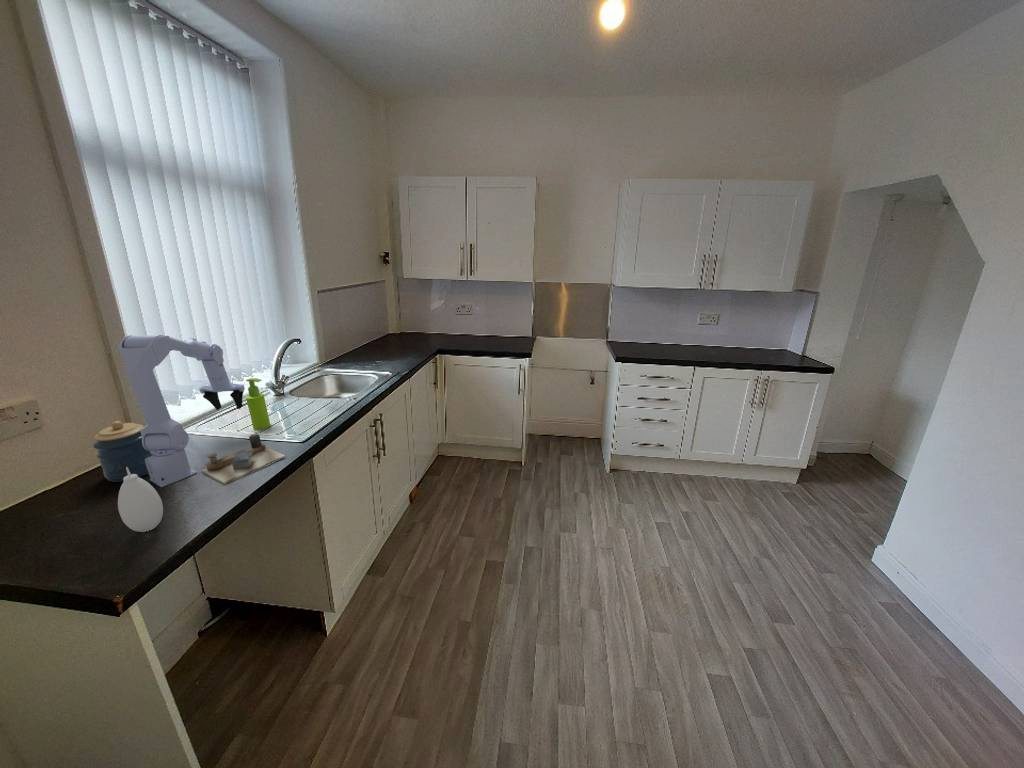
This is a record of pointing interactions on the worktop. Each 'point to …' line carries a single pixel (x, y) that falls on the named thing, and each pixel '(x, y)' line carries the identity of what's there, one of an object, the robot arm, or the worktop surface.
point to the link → (234, 454)
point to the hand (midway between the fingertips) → (229, 408)
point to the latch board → (257, 461)
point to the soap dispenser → (257, 406)
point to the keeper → (242, 460)
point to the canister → (121, 451)
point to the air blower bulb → (139, 504)
